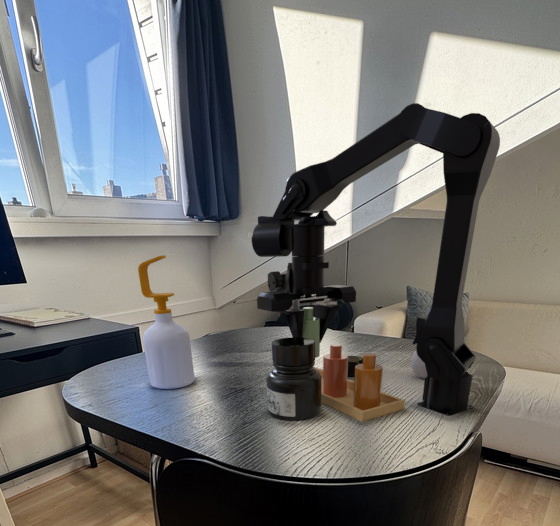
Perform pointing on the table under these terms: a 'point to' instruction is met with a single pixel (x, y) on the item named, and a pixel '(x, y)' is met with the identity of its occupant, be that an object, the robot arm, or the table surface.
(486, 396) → the table surface
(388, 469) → the table surface
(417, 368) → the perfume bottle
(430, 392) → the robot arm
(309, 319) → the sage bottle
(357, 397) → the amber bottle
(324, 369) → the terracotta bottle
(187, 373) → the soap bottle
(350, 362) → the tape measure
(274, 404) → the ink bottle
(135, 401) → the table surface
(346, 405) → the tray
